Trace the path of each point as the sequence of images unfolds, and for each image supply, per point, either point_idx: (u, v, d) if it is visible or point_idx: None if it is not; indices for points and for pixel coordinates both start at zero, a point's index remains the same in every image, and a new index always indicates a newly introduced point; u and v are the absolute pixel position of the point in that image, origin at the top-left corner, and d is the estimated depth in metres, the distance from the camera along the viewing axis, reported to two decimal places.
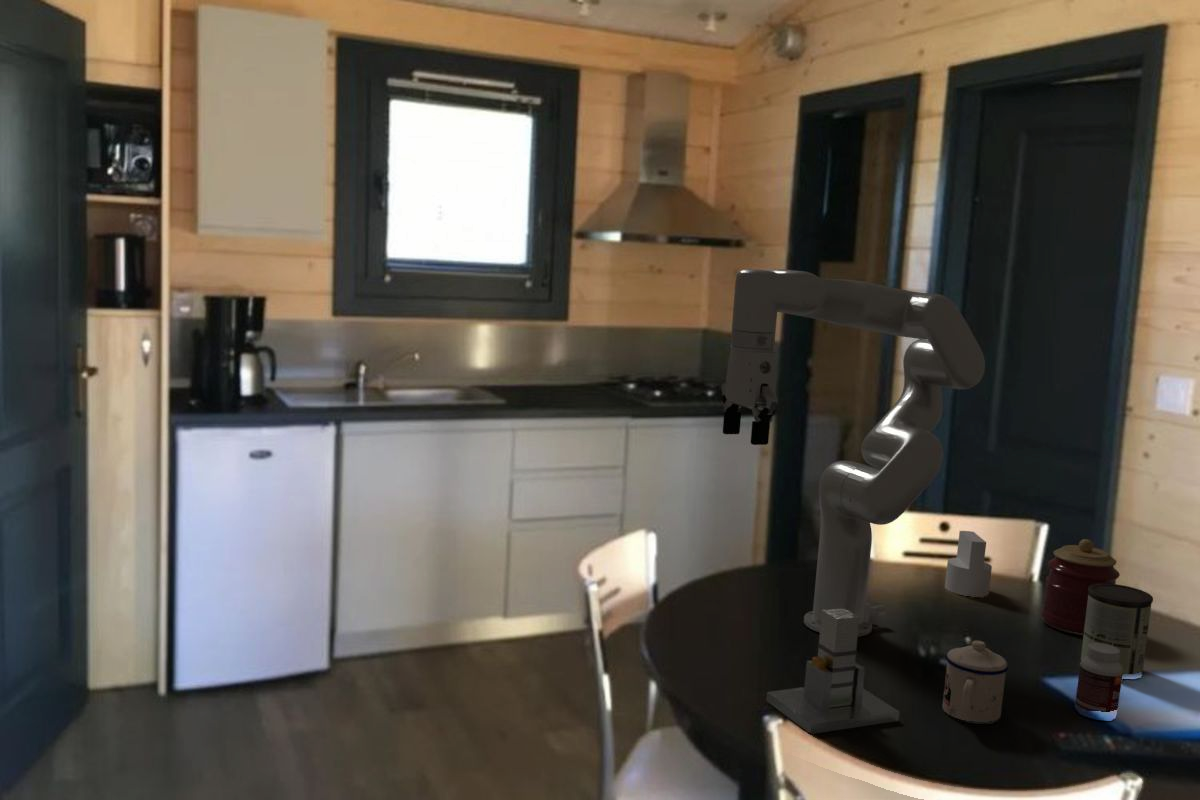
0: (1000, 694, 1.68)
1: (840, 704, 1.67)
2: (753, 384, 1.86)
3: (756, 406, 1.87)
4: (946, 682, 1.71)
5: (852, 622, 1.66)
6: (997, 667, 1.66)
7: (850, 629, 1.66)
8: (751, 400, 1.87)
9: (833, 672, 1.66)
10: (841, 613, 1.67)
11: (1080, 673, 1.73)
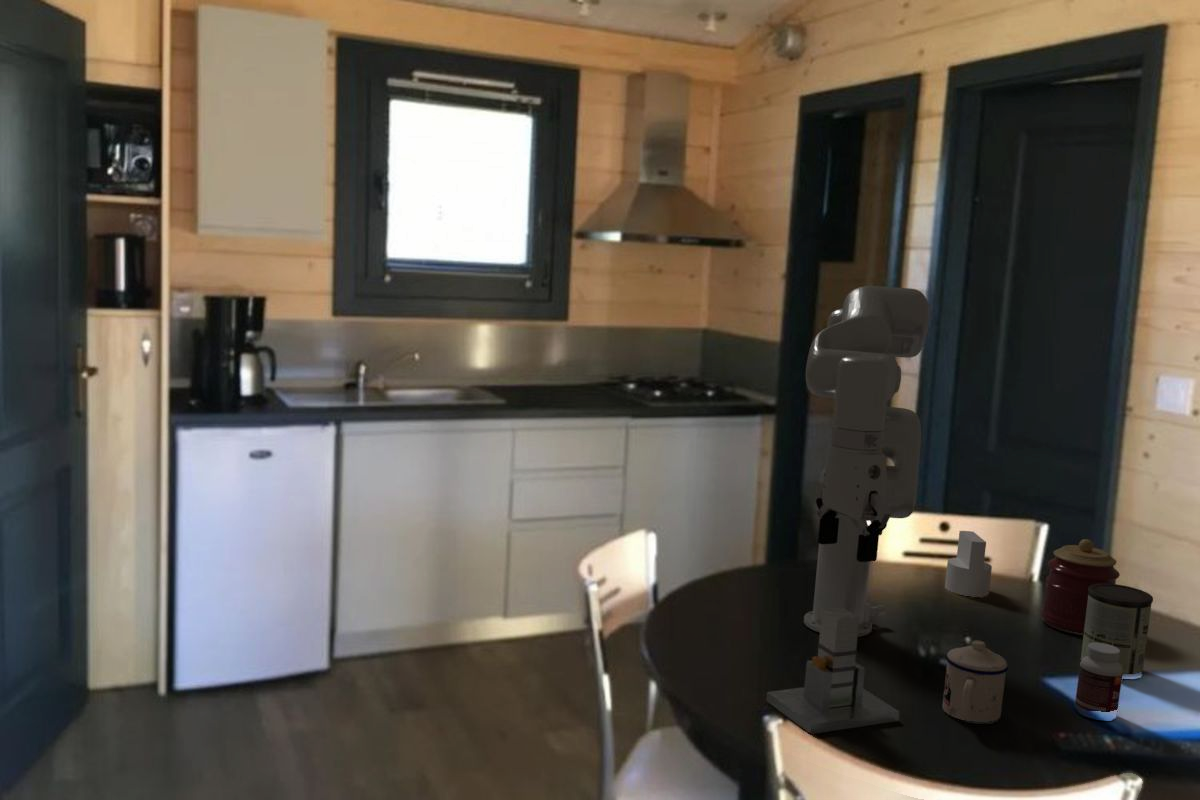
0: (1000, 694, 1.68)
1: (840, 704, 1.67)
2: (861, 492, 1.59)
3: (863, 517, 1.60)
4: (946, 682, 1.71)
5: (852, 622, 1.66)
6: (997, 667, 1.66)
7: (850, 629, 1.66)
8: (858, 510, 1.60)
9: (833, 672, 1.66)
10: (841, 613, 1.67)
11: (1080, 673, 1.73)
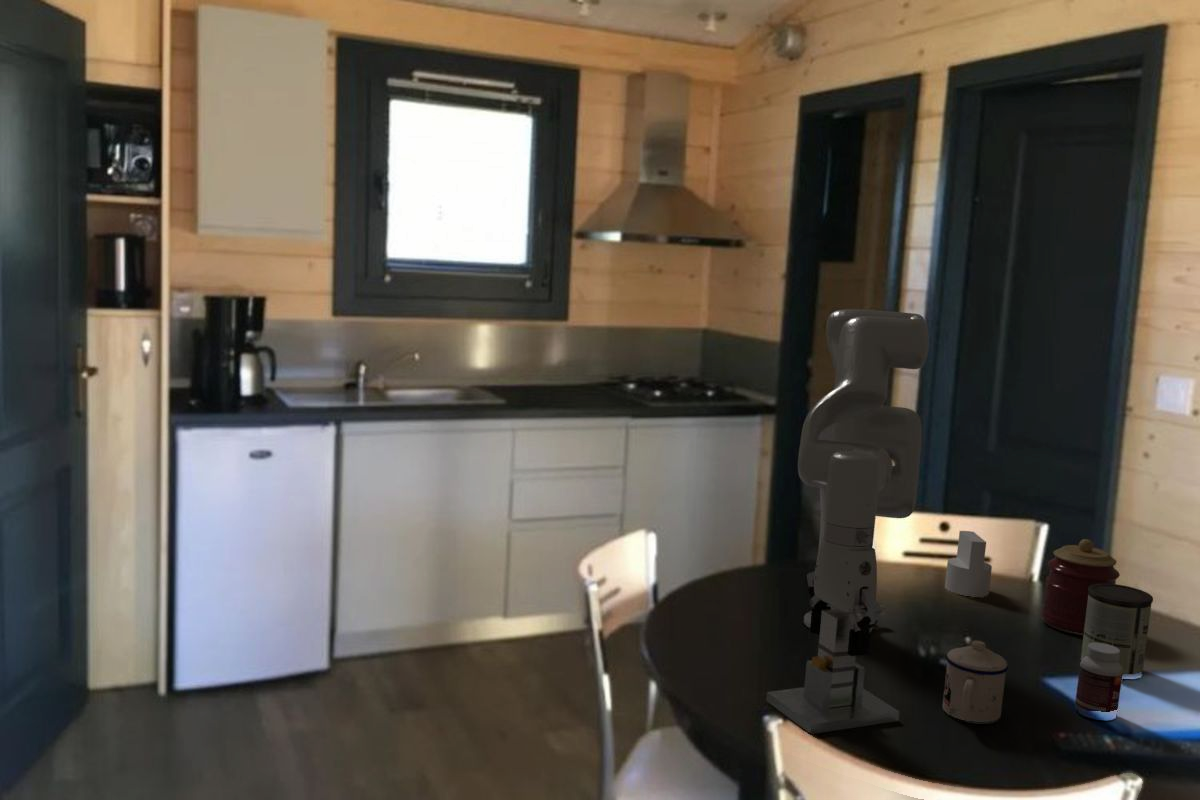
0: (1000, 694, 1.68)
1: (840, 704, 1.67)
2: (851, 588, 1.61)
3: (854, 612, 1.62)
4: (946, 682, 1.71)
5: None
6: (997, 667, 1.66)
7: None
8: (849, 606, 1.62)
9: (833, 672, 1.66)
10: (841, 613, 1.67)
11: (1080, 673, 1.73)
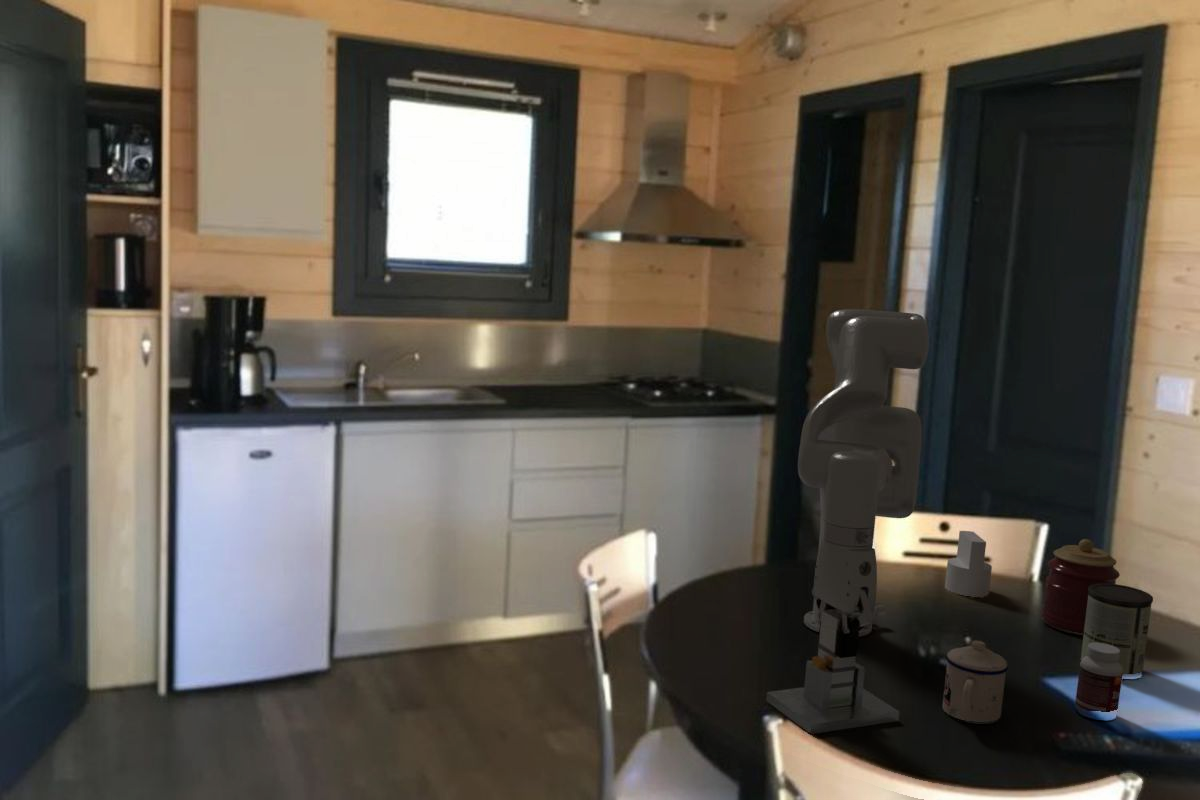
0: (1000, 694, 1.68)
1: (840, 704, 1.67)
2: (851, 588, 1.61)
3: (848, 616, 1.64)
4: (946, 682, 1.71)
5: None
6: (997, 667, 1.66)
7: None
8: (849, 606, 1.62)
9: (833, 672, 1.66)
10: (841, 613, 1.67)
11: (1080, 673, 1.73)
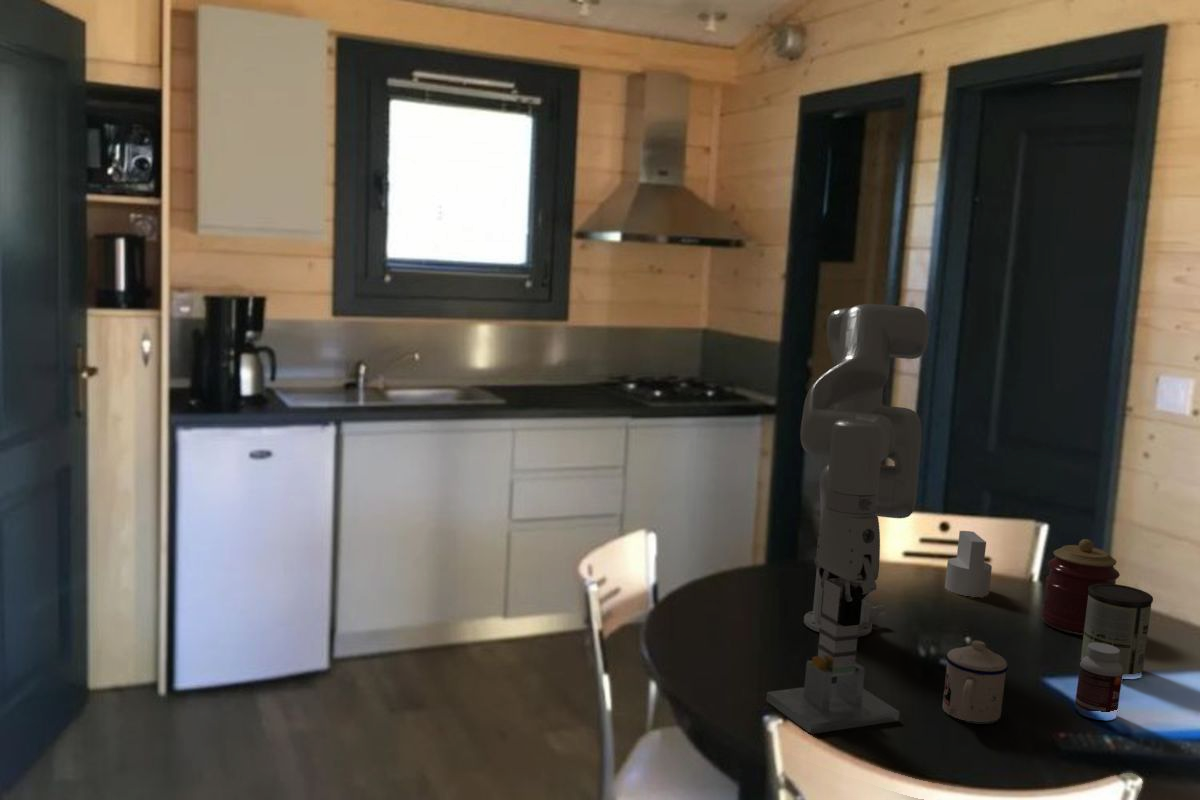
0: (1000, 694, 1.68)
1: (843, 673, 1.67)
2: (854, 555, 1.61)
3: (851, 584, 1.63)
4: (946, 682, 1.71)
5: None
6: (997, 667, 1.66)
7: None
8: (852, 573, 1.61)
9: (836, 641, 1.65)
10: (844, 581, 1.67)
11: (1080, 673, 1.73)
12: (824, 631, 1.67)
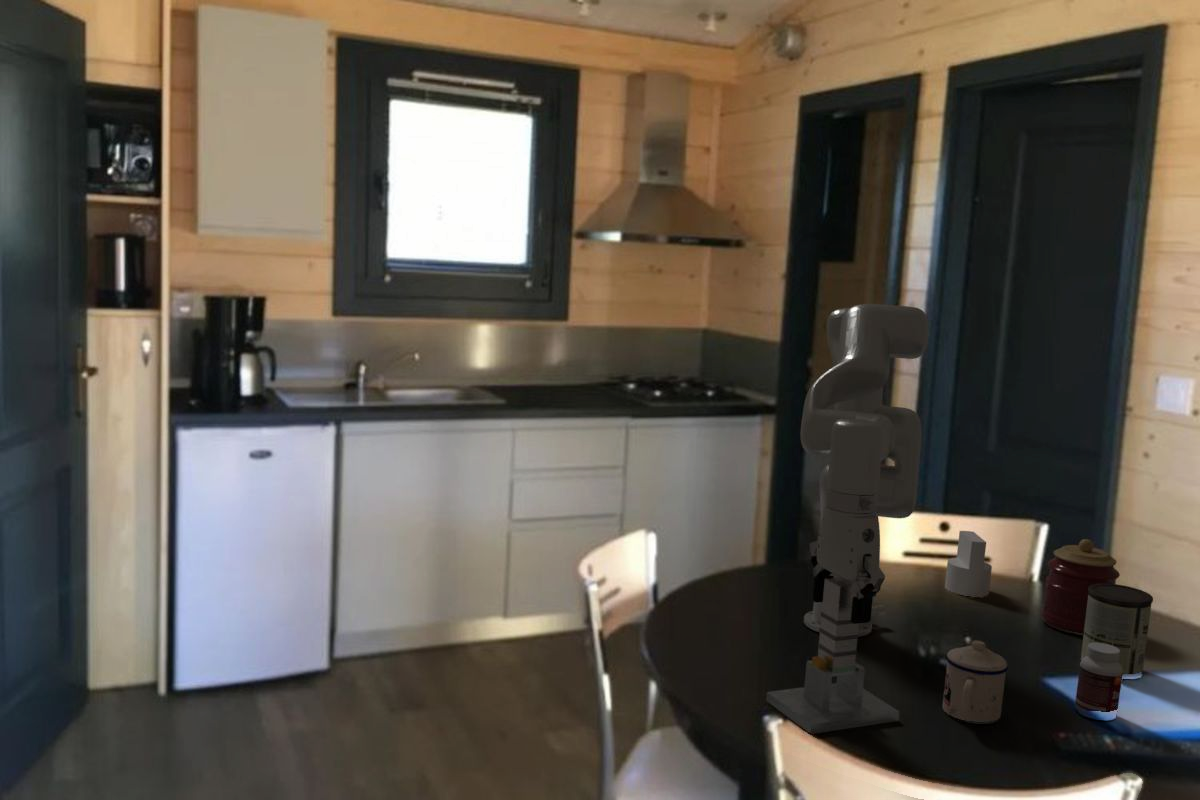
0: (1000, 694, 1.68)
1: (843, 673, 1.67)
2: (854, 555, 1.61)
3: (857, 579, 1.62)
4: (946, 682, 1.71)
5: None
6: (997, 667, 1.66)
7: None
8: (852, 573, 1.61)
9: (836, 640, 1.65)
10: (844, 581, 1.67)
11: (1080, 673, 1.73)
12: (824, 631, 1.67)
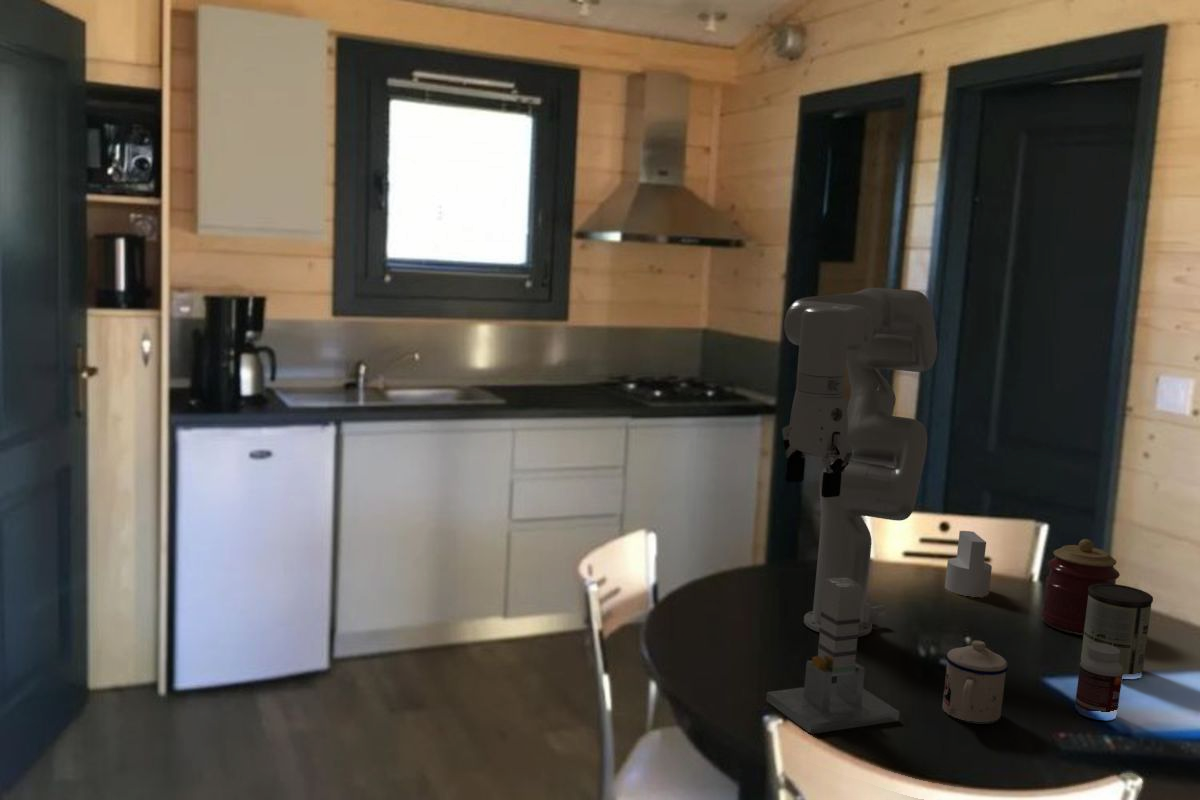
0: (1000, 694, 1.68)
1: (843, 673, 1.67)
2: (824, 433, 1.72)
3: (827, 456, 1.73)
4: (946, 682, 1.71)
5: (855, 590, 1.65)
6: (997, 667, 1.66)
7: (853, 598, 1.65)
8: (822, 450, 1.73)
9: (836, 640, 1.65)
10: (844, 581, 1.67)
11: (1080, 673, 1.73)
12: (824, 631, 1.67)
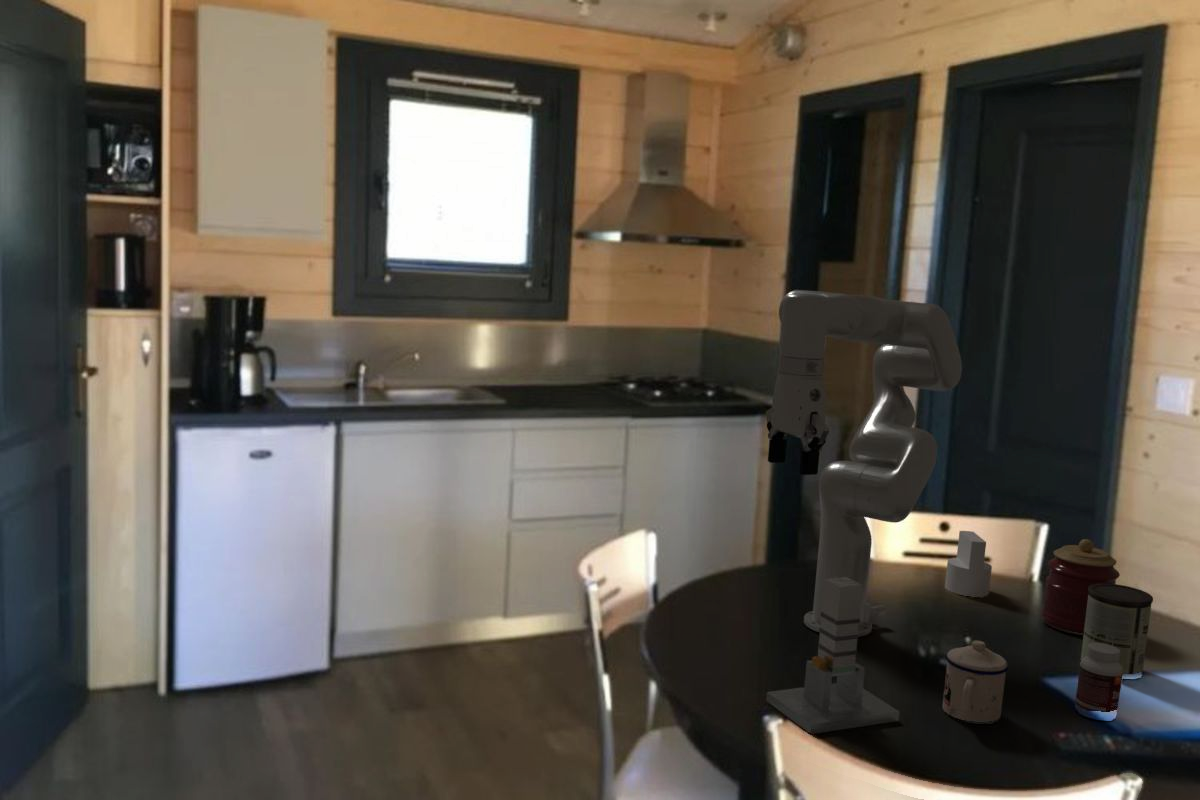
0: (1000, 694, 1.68)
1: (843, 673, 1.67)
2: (803, 412, 1.80)
3: (805, 435, 1.81)
4: (946, 682, 1.71)
5: (855, 590, 1.65)
6: (997, 667, 1.66)
7: (853, 598, 1.65)
8: (800, 429, 1.80)
9: (836, 640, 1.65)
10: (844, 581, 1.67)
11: (1080, 673, 1.73)
12: (824, 631, 1.67)
